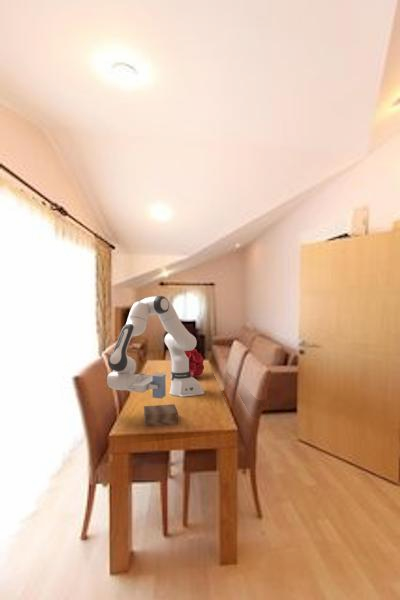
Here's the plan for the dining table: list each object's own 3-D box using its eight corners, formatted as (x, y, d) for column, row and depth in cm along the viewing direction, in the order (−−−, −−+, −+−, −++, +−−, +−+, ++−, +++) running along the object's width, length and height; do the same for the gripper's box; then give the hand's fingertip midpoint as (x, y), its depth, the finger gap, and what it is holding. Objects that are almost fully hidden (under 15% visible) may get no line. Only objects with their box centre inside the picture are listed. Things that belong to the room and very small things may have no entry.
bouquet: (171, 383, 281) (177, 372, 255) (171, 354, 292) (176, 341, 266) (198, 384, 285) (206, 372, 259) (197, 355, 296) (205, 342, 270)
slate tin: (156, 394, 186) (156, 372, 186) (165, 395, 184) (165, 372, 184) (152, 397, 181) (152, 374, 181) (161, 398, 179) (161, 375, 179)
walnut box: (174, 415, 191) (174, 404, 191) (178, 425, 177) (178, 412, 177) (144, 417, 188) (144, 406, 188) (145, 427, 174) (145, 415, 174)
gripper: (126, 381, 176) (151, 383, 172) (144, 372, 196) (168, 374, 192) (126, 394, 177) (152, 396, 172) (145, 384, 196) (168, 386, 192)
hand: (160, 385), depth 182 cm, fingers closed on slate tin, 5 cm apart
